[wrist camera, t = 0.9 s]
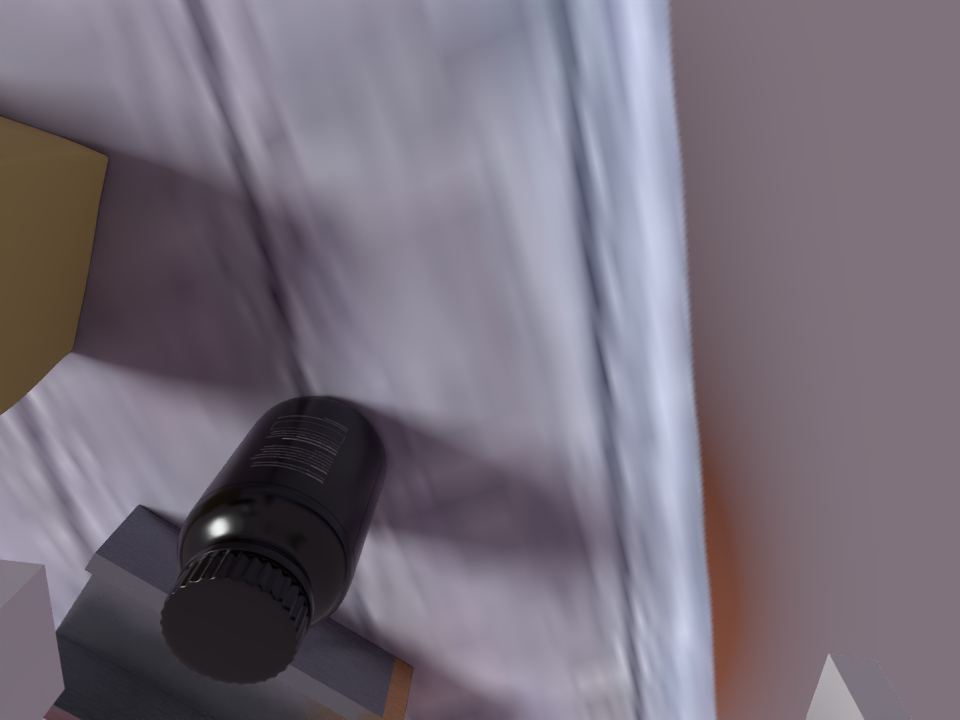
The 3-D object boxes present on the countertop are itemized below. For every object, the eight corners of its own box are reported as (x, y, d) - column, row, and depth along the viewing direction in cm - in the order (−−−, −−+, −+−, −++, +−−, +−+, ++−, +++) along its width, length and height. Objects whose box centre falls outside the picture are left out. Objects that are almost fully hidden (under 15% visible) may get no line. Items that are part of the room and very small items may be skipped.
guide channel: (51, 640, 40) (-24, 730, 35) (138, 504, 36) (69, 581, 31) (308, 779, 43) (277, 883, 38) (413, 668, 40) (395, 764, 34)
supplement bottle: (224, 452, 35) (86, 625, 24) (312, 364, 33) (206, 508, 22) (328, 538, 37) (244, 738, 25) (418, 458, 35) (370, 638, 23)
